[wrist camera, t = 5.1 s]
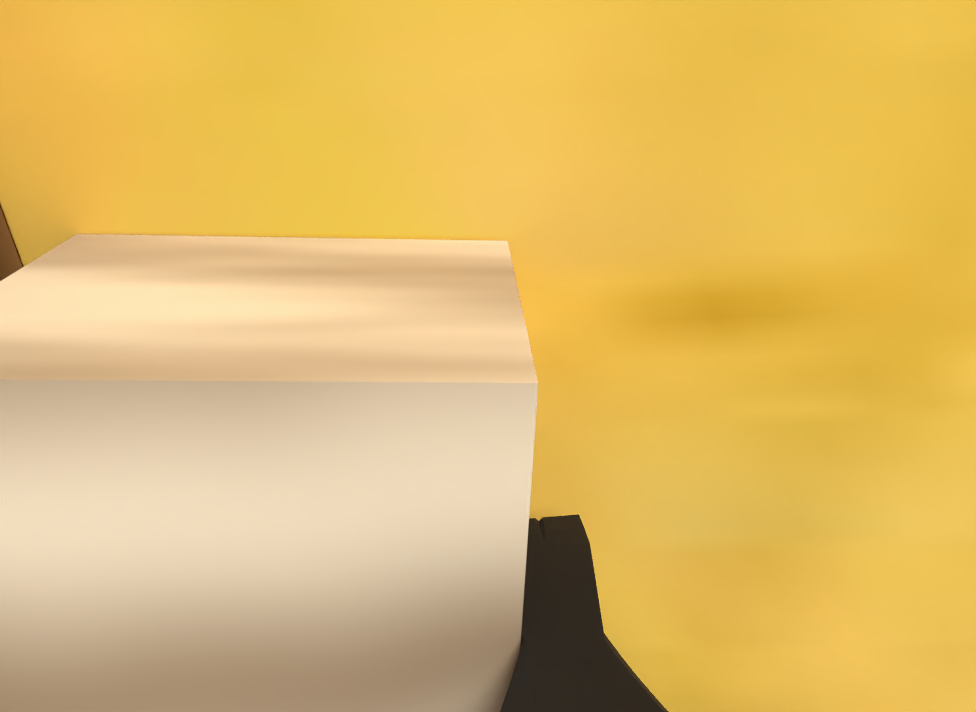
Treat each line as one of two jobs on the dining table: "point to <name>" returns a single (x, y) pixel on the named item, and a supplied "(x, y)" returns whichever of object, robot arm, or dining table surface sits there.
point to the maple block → (263, 475)
